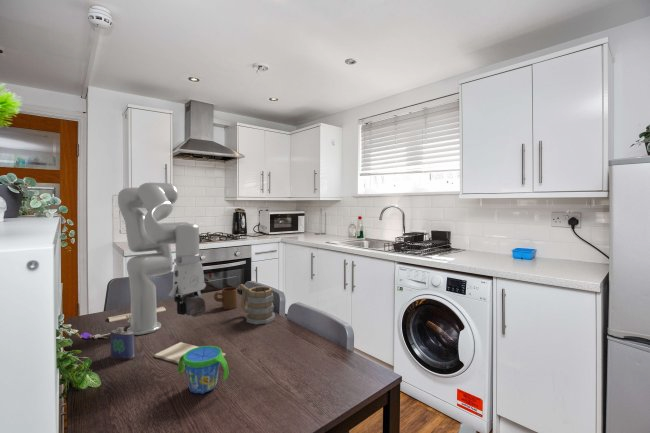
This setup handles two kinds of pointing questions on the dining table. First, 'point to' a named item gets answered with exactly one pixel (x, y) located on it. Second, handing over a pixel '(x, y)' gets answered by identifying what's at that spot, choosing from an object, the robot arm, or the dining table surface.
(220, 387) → the dining table surface
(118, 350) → the flask
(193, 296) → the perforated stone tool
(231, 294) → the mug
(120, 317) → the newspaper
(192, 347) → the birch board
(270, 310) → the tankard
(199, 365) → the snack cup
